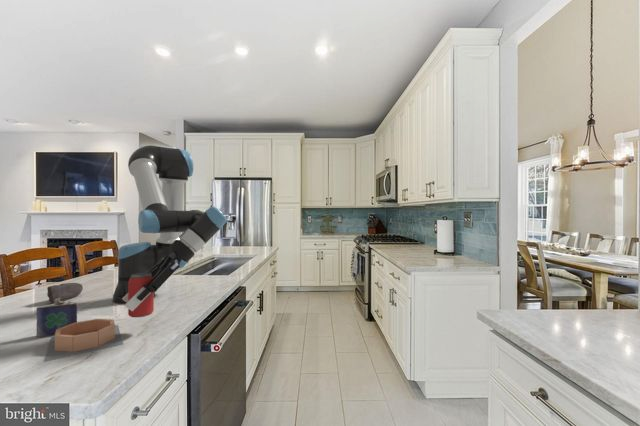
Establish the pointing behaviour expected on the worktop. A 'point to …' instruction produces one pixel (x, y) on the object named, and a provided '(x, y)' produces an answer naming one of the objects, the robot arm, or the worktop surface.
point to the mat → (54, 354)
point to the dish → (84, 335)
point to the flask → (55, 317)
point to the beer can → (133, 287)
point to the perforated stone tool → (64, 291)
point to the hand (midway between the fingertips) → (127, 304)
